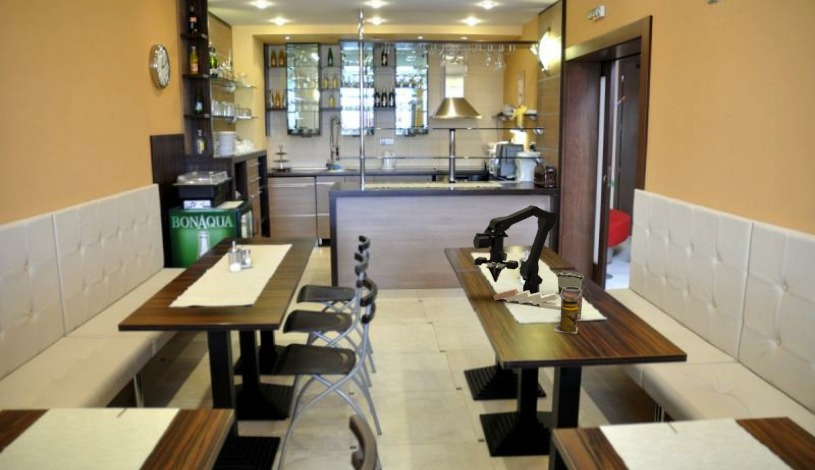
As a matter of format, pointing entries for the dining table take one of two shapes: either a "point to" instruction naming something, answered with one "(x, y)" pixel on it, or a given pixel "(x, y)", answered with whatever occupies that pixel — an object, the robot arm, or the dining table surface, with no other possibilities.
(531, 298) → the domino
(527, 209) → the robot arm
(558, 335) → the dining table surface
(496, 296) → the domino
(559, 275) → the food container
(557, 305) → the domino
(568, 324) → the condiment
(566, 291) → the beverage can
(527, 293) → the domino
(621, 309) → the dining table surface
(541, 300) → the domino
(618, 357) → the dining table surface
